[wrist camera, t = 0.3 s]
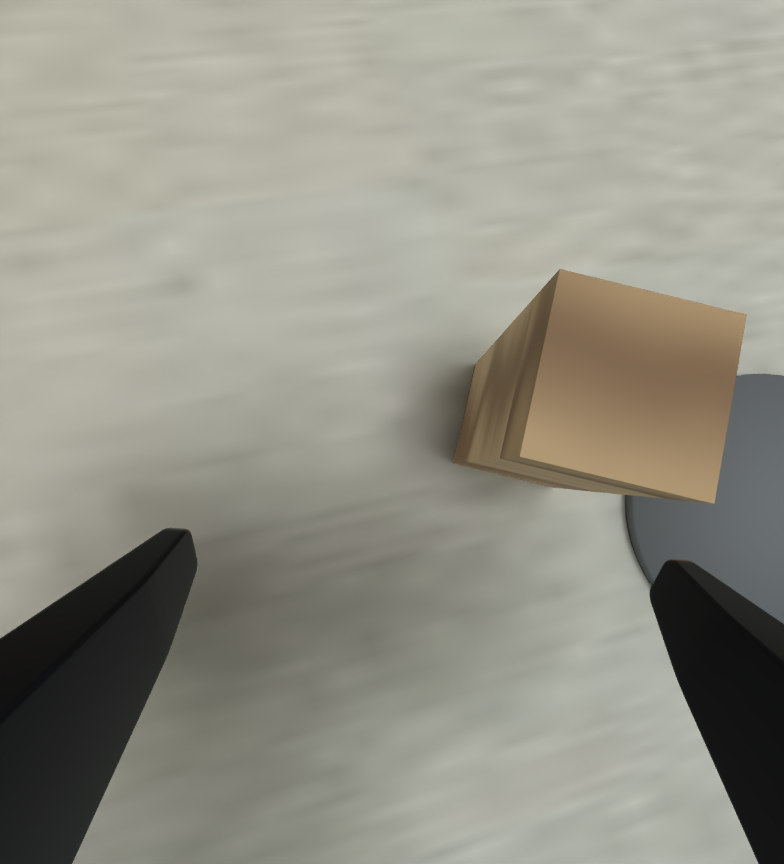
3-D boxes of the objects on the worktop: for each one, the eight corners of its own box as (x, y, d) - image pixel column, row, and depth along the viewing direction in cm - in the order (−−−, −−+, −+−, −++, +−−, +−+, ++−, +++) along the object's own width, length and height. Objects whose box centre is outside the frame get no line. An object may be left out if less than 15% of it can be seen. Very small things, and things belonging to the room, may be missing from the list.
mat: (940, 561, 23) (960, 564, 22) (718, 700, 22) (731, 709, 21) (793, 331, 24) (808, 327, 23) (576, 456, 23) (582, 456, 22)
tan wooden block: (553, 487, 23) (714, 503, 12) (452, 463, 23) (519, 456, 12) (574, 388, 23) (746, 314, 12) (475, 364, 23) (559, 268, 12)
